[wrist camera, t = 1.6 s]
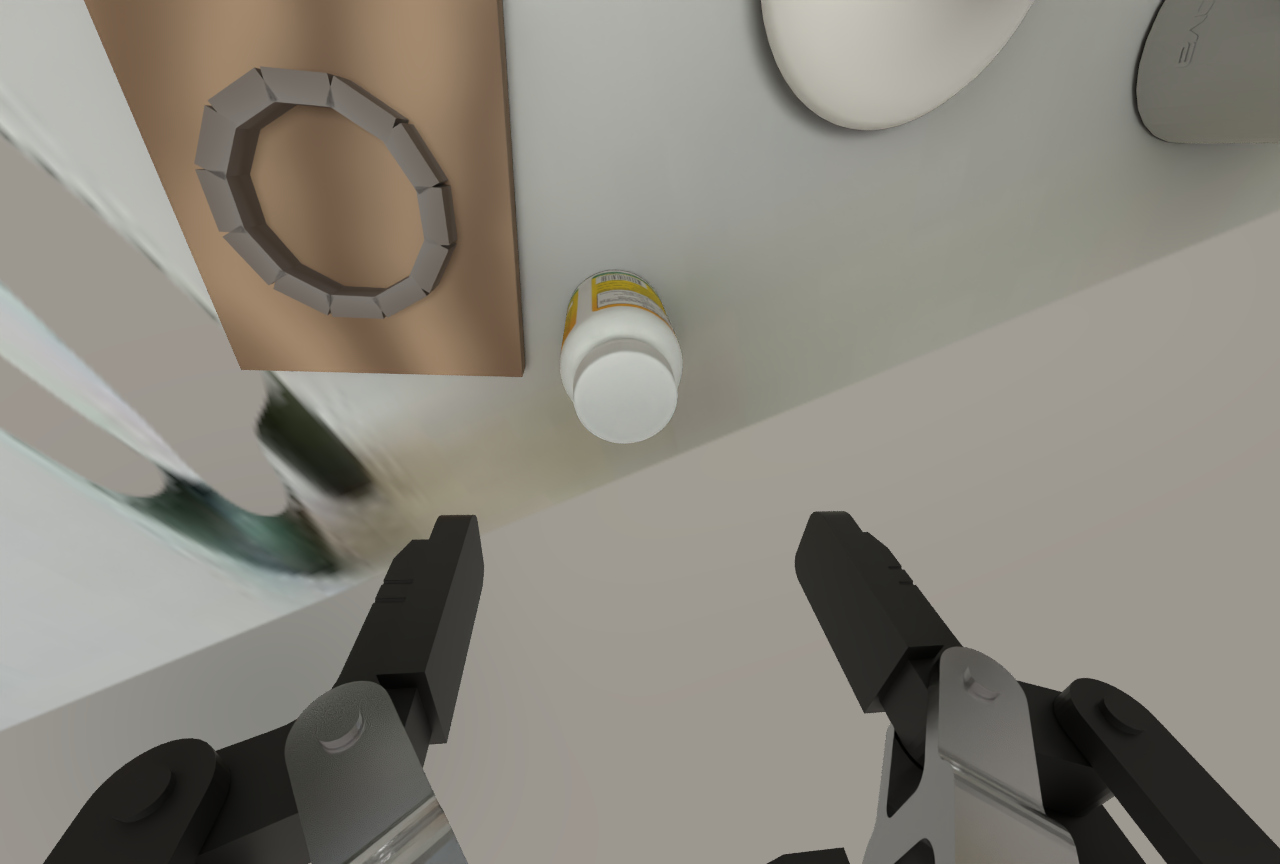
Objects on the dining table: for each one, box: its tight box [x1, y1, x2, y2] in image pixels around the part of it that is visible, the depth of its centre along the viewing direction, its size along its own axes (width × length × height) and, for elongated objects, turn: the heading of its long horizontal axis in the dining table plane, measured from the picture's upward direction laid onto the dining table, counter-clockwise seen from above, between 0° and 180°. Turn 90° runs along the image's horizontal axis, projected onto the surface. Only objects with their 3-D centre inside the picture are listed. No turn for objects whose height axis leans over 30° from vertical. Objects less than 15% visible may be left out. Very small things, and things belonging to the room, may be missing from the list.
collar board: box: [84, 0, 525, 377], centre depth 20 cm, size 14×16×3 cm
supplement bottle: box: [560, 270, 683, 444], centre depth 21 cm, size 5×5×10 cm
